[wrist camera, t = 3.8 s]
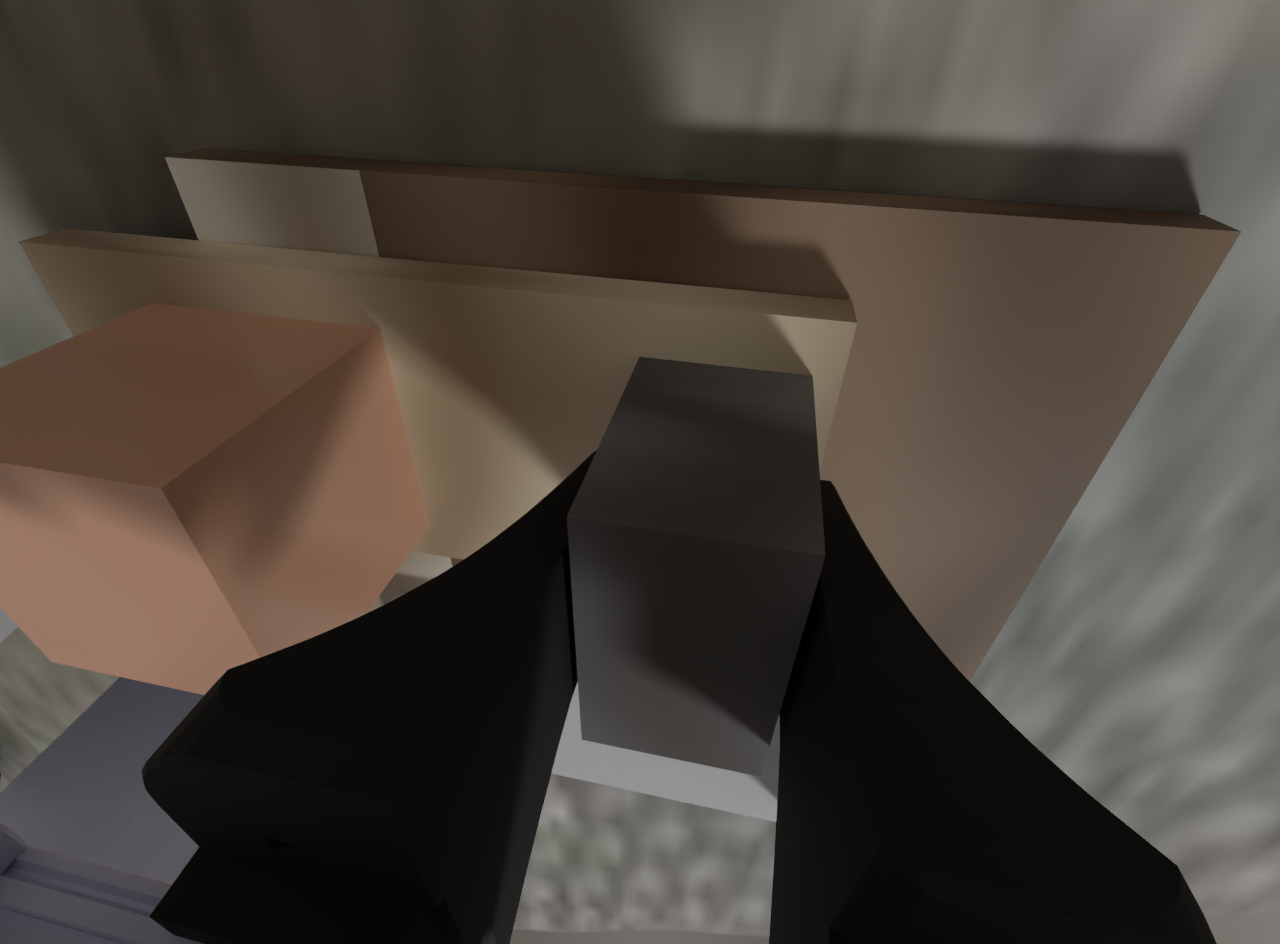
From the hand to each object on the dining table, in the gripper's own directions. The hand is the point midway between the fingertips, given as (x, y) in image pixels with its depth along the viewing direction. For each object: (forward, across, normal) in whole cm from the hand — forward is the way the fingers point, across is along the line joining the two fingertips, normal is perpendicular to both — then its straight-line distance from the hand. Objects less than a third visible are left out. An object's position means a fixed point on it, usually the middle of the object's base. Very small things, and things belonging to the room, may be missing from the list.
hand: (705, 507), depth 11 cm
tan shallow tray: (+2, +6, 0) cm, 6 cm away
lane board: (+3, +2, +5) cm, 6 cm away
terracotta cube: (+1, +9, 0) cm, 9 cm away
